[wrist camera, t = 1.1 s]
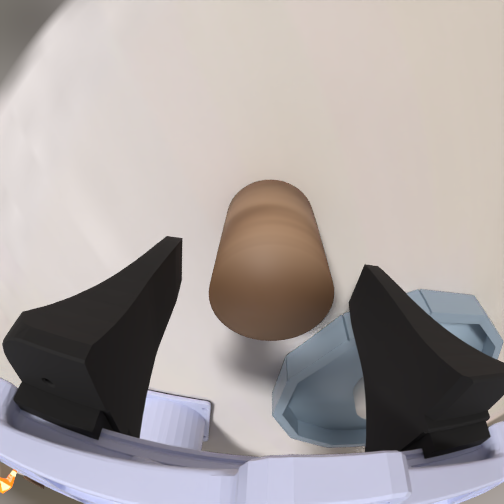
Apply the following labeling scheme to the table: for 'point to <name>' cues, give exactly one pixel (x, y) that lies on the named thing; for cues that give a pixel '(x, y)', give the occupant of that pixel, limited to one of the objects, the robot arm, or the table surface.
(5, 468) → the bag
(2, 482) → the orange juice
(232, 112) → the table surface
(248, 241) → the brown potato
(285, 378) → the round tray
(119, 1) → the table surface
